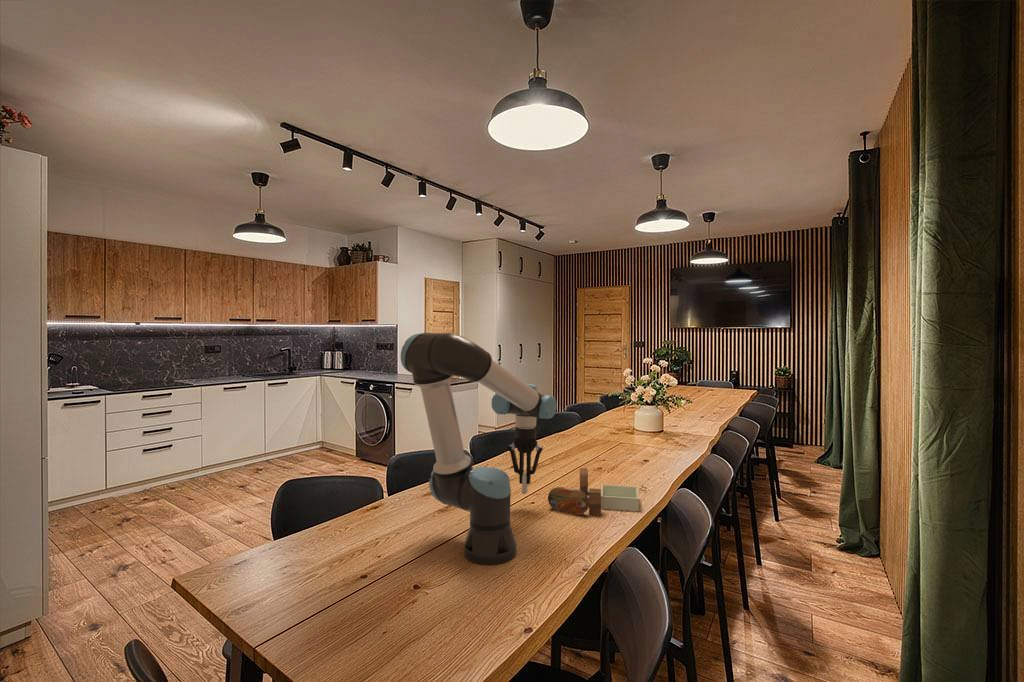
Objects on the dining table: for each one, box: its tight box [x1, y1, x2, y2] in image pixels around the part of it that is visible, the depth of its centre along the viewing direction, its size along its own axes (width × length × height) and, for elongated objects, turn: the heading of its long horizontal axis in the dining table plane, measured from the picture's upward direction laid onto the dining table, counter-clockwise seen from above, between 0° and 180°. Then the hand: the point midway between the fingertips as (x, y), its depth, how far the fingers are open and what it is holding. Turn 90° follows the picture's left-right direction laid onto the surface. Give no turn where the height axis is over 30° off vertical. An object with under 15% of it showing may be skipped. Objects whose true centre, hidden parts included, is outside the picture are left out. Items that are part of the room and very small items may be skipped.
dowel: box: [579, 467, 589, 496], centre depth 178 cm, size 3×3×12 cm
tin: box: [547, 486, 589, 516], centre depth 168 cm, size 15×3×8 cm, turn 58°
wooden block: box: [588, 487, 602, 517], centre depth 167 cm, size 4×4×8 cm
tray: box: [600, 484, 640, 512], centre depth 176 cm, size 13×13×5 cm
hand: (524, 492), depth 171 cm, fingers closed
